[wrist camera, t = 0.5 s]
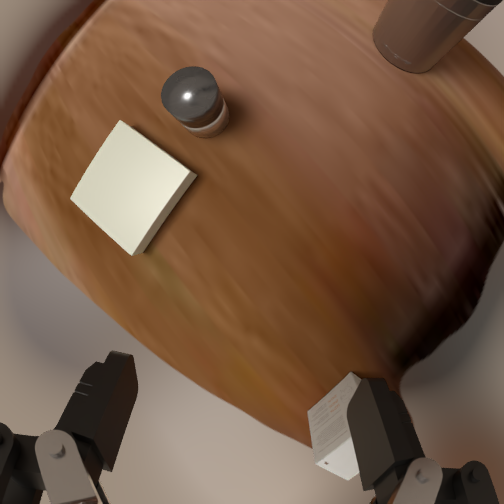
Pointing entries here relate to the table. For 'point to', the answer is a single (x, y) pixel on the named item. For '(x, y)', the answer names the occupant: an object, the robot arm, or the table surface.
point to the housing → (196, 101)
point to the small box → (334, 430)
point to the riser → (131, 188)
